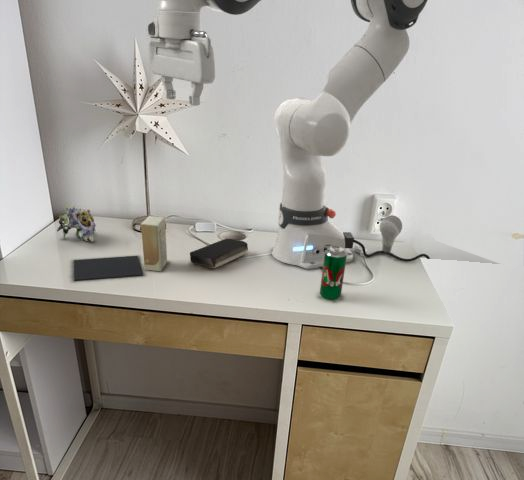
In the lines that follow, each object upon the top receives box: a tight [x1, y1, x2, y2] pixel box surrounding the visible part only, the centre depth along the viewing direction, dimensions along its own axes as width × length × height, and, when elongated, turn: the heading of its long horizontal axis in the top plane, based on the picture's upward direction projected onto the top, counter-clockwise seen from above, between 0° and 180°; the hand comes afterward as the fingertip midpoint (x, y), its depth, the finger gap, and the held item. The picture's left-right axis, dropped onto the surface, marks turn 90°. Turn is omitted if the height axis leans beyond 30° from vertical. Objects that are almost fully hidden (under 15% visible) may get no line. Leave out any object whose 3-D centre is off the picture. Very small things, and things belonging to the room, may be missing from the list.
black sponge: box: [189, 238, 249, 269], centre depth 138 cm, size 16×8×4 cm, turn 143°
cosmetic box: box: [140, 215, 168, 272], centre depth 130 cm, size 6×4×12 cm
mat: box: [73, 255, 143, 282], centre depth 130 cm, size 16×12×1 cm
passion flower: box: [56, 204, 98, 243], centre depth 144 cm, size 11×11×12 cm
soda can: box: [319, 246, 347, 301], centre depth 120 cm, size 5×5×12 cm
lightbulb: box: [379, 214, 403, 253], centre depth 145 cm, size 6×6×11 cm
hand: (182, 102), depth 115 cm, fingers open, 8 cm apart
